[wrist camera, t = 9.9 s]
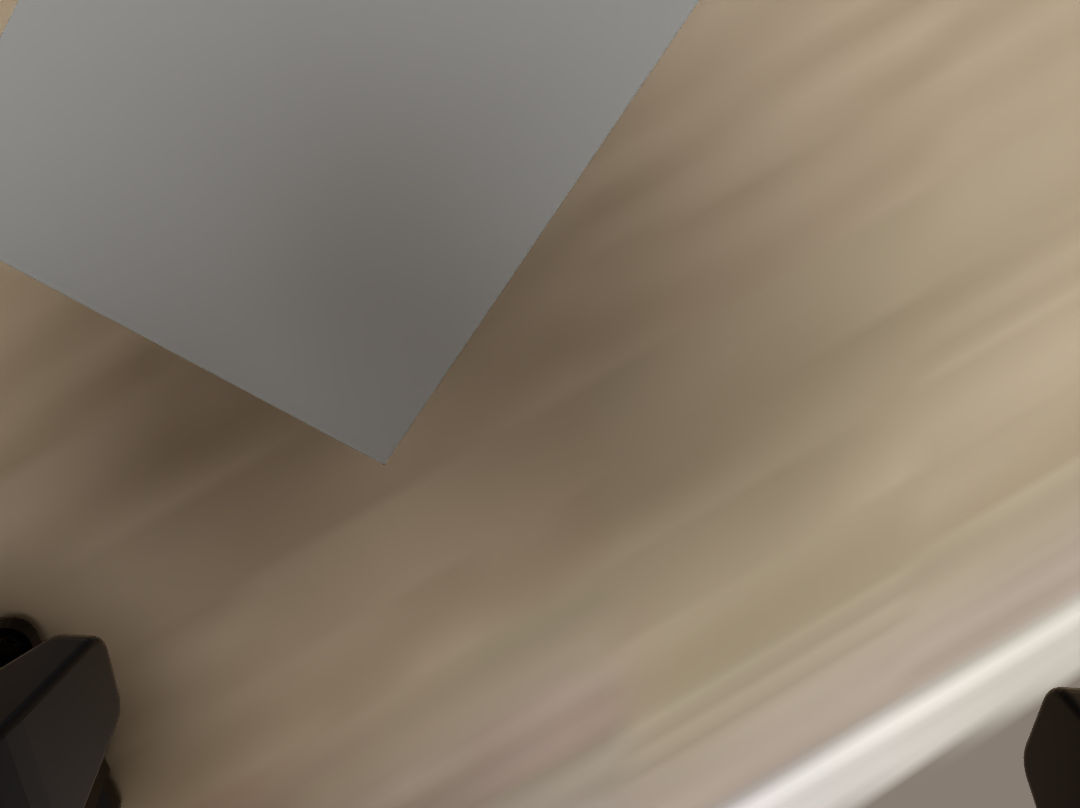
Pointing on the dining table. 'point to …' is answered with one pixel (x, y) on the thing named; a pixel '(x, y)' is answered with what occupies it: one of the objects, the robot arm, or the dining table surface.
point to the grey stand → (306, 175)
